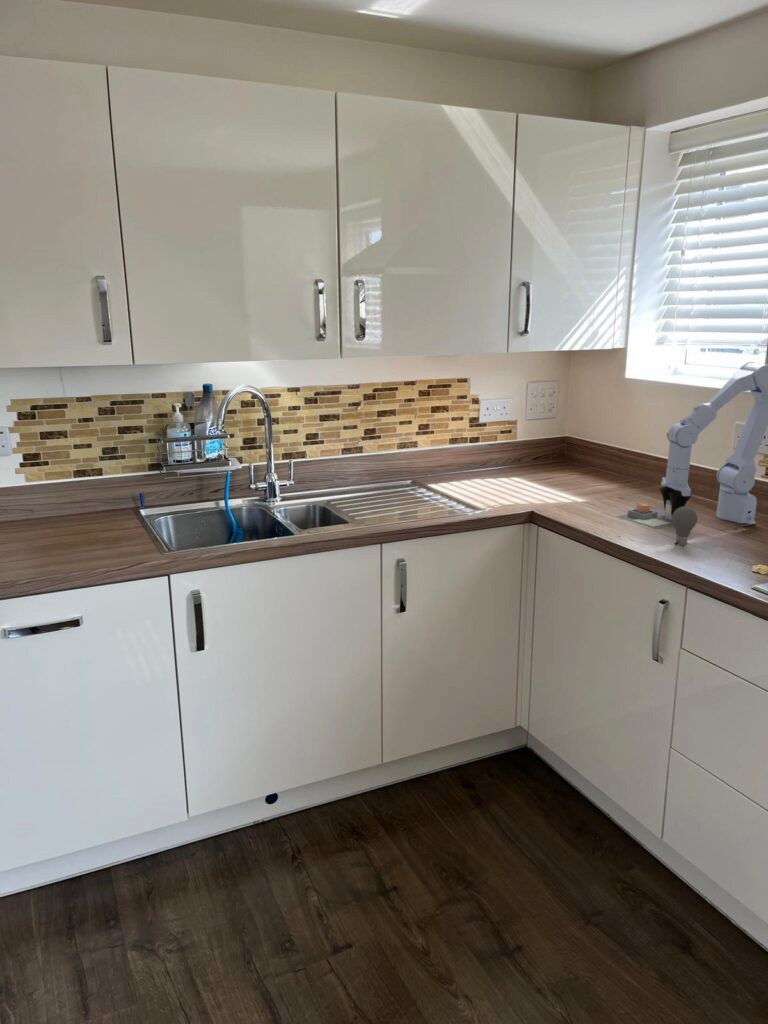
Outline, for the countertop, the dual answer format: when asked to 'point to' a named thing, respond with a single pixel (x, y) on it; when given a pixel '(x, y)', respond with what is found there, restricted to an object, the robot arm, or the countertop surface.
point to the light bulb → (684, 523)
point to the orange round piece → (643, 508)
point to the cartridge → (668, 510)
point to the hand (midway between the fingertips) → (672, 514)
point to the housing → (648, 518)
